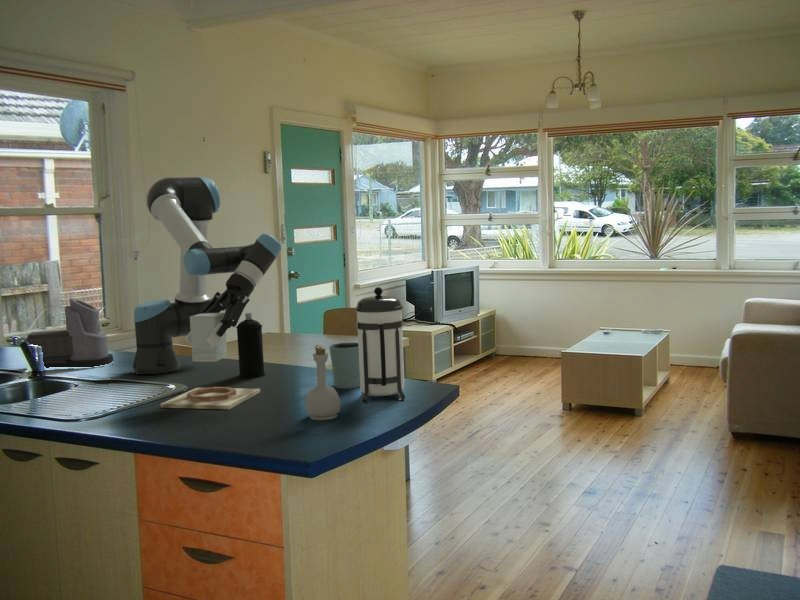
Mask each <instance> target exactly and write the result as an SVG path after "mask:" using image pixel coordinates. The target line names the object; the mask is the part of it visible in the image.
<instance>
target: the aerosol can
mask: <svg viewBox="0 0 800 600" xmlns="http://www.w3.org/2000/svg"><path fill="white" fill-rule="evenodd" d="M244 314H245V319H244V320H243V321H241V322H239V323H237V325H236V326H235V328H236V333H237V337H236V338H237V348H238V349H237V351H238V352H237V353H238V368H239V374H238V376H239V377H240V378H243V379H253V378H260V377H264V376H265V375H266V373H265V362H264V345H263V342H264V341H263V329H262V327H263V325H262V324H261V323H260V322H259V321H258V320H255V319H253V315H252V312H246V313H244Z"/></svg>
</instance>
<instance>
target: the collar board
mask: <svg viewBox="0 0 800 600" xmlns="http://www.w3.org/2000/svg"><path fill="white" fill-rule="evenodd" d="M260 393H261V388H244V387H243V388H241V387H240V388H238V387H237V388H232V387H230V386H212V387H211V386H208V387H195V388H193V389H190V390H188V391H187V392H184V393H182V394H179V395H178V396H175V397H173V398H171V399H169V400H166V401H164V402H162V403H160V409H162V408H163V409H164V408H165V409H167V408H168V409H169V408H170V409H203V410H205V409H207V410H230V409H232V408H234V407H236V406H238V405H239V404H241V403H243V402H245V401H246V400H249V399H251V398H252V397H254V396H256V395H257V394H260Z"/></svg>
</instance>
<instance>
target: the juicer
mask: <svg viewBox="0 0 800 600" xmlns="http://www.w3.org/2000/svg"><path fill="white" fill-rule="evenodd" d="M100 315H101V313H100V310H99V309H98V308H96V307H94V306H93V305H91V304H89V303H87V302H84V301H83V300H80V299H77V298H74V297H69V305H66V306H64V316H65V326H66V327H65V328H66V329H62V330H49V331H48V330H47V331H34V332H33V331H32V332H31V333H29V334H28V335H27V337H25V339H24V340H26V341H27V342H28V343H29V344H33V345H38V346H41V347H42V352H43V362H44V366H45V367H46V368H49V367H94V366H100V365H105V364H109V363H111V362H112V361H113V360H114V356H113V355H114V354H112V353H109V344H108V343H109V341H108V336H107V335H106V333H104V332H103V331H101V325H100Z"/></svg>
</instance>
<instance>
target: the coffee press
mask: <svg viewBox="0 0 800 600" xmlns="http://www.w3.org/2000/svg"><path fill="white" fill-rule="evenodd" d="M373 292H374V294H375V296H374V295H373V296H368V297H363V298H362V299H360V300H358V302H357V303H356V306H355V309H354V310H355V312H356V329H357V341H358V342H357V343H358V348H359V370H360V387H359V388H360V389H359V390H360V393H361V394H362V399H361V400H362V402H364V403H369V402H370V401H371V399H372V398H373V397H384V396H385V397H386V396H394V397H396V399H397V401H403V400H405V398H406V396H405V394H404V392H403V391H404V389H405V368H404V365H405V363H404V362H405V361H404V341H403V339H404V338H403V326H404V319H403V317H402V311H403V309H404V305H402V302H401V301H400V299H398V298H397V297H394V296H391V295H390V296H389V295H382V294H383V292H384V291H383V289H382V287H379V286H378V287H375V289H374V291H373Z"/></svg>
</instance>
